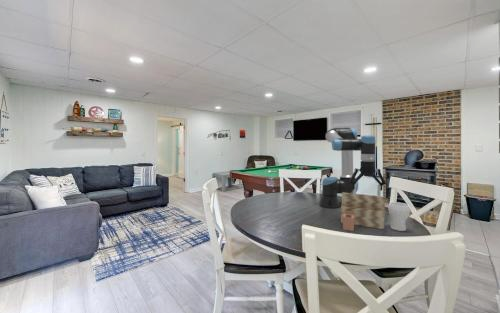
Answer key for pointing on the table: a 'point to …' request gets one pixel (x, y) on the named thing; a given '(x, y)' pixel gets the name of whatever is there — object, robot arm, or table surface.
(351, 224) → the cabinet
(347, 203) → the wallboard
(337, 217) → the table surface
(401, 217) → the cup
